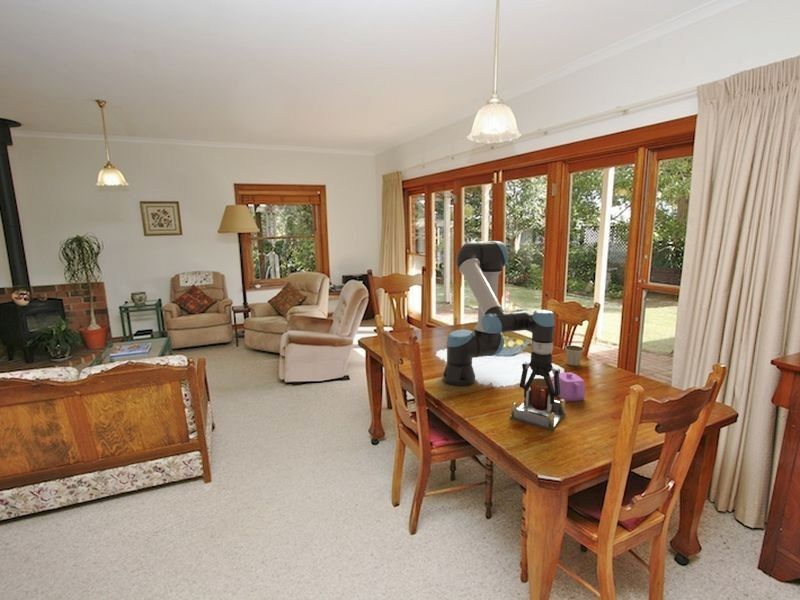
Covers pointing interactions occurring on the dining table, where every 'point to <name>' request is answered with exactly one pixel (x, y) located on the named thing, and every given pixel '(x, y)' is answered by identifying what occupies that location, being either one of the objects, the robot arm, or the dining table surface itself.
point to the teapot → (571, 387)
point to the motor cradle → (539, 414)
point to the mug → (539, 394)
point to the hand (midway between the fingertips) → (538, 408)
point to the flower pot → (573, 354)
